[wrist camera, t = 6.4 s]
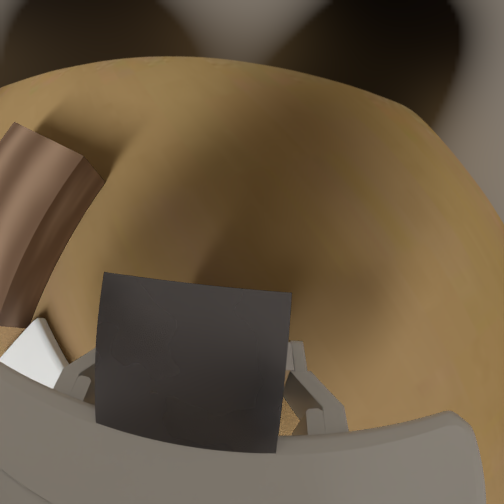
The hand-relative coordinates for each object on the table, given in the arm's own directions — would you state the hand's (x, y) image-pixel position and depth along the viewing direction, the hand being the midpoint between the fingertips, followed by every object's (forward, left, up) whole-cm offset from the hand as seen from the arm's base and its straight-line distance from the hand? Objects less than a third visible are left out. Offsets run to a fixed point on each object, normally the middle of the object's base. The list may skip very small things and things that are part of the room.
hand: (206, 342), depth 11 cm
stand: (-21, -2, -6) cm, 22 cm away
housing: (0, -1, -6) cm, 6 cm away
